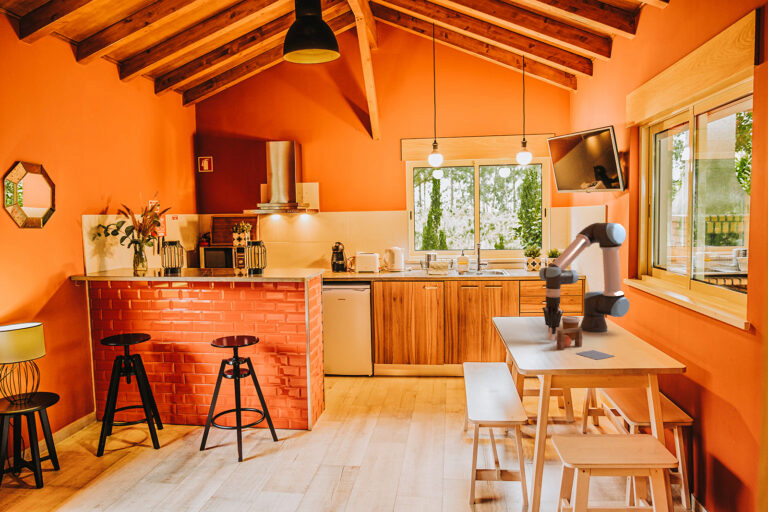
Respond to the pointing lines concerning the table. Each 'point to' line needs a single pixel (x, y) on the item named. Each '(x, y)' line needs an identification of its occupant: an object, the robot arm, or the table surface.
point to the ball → (567, 341)
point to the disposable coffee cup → (570, 325)
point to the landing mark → (595, 354)
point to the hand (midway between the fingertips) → (552, 339)
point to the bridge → (561, 332)
